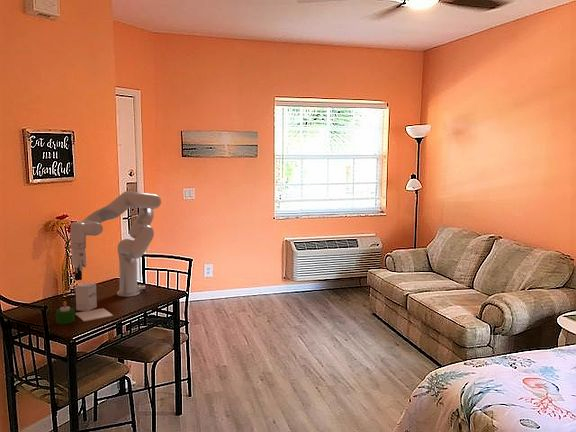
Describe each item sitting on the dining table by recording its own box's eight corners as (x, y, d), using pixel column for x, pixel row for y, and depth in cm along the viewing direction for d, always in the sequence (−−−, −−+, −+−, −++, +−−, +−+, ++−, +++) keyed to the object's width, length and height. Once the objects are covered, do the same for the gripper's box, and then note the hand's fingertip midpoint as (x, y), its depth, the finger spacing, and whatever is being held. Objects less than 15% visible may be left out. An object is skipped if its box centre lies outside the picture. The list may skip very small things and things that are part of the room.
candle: (52, 321, 237) (51, 301, 236) (67, 317, 244) (67, 297, 243) (63, 325, 233) (62, 304, 232) (78, 320, 240) (78, 300, 239)
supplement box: (88, 311, 252) (87, 286, 251) (75, 310, 254) (74, 286, 253) (97, 307, 259) (96, 283, 258) (84, 306, 261) (83, 282, 260)
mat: (103, 309, 258) (103, 308, 258) (112, 316, 248) (112, 314, 248) (75, 314, 249) (75, 313, 249) (83, 321, 239) (83, 320, 239)
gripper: (90, 247, 257) (90, 282, 259) (81, 242, 269) (81, 276, 271) (75, 248, 253) (75, 283, 255) (66, 243, 264) (66, 277, 266)
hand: (78, 279), depth 263 cm, fingers closed
